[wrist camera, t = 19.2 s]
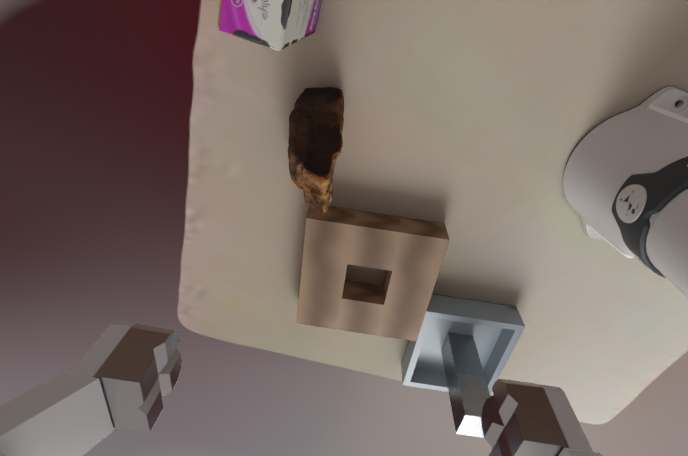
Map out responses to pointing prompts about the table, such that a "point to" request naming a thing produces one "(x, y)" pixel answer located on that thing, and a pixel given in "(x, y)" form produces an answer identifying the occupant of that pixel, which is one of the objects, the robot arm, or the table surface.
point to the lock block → (375, 252)
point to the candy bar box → (269, 20)
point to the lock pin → (465, 383)
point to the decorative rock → (316, 143)
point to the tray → (464, 318)
